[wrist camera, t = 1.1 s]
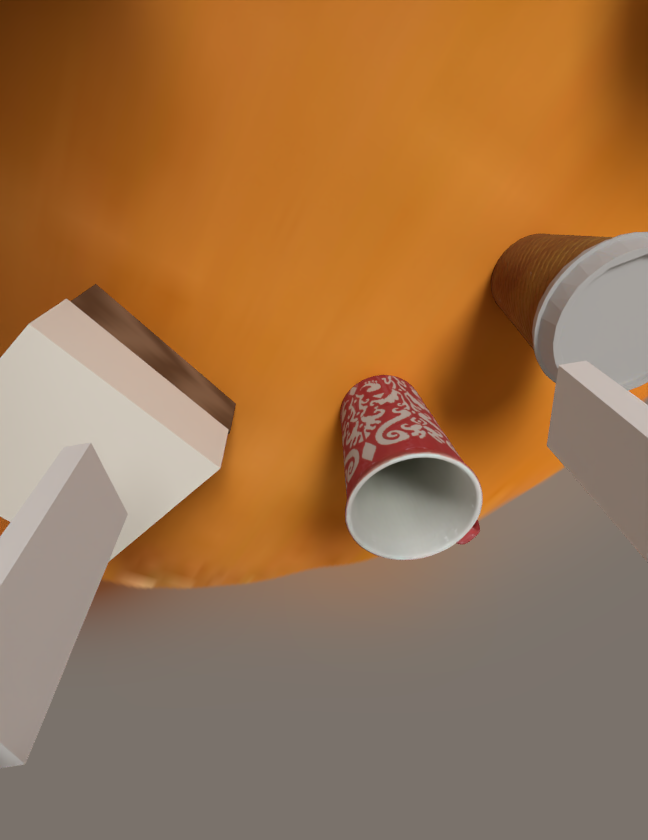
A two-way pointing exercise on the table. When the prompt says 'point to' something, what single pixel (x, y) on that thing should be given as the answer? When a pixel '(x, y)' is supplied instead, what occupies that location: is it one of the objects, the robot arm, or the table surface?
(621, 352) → the disposable coffee cup
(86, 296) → the tower base
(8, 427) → the tower top
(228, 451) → the table surface
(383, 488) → the mug
